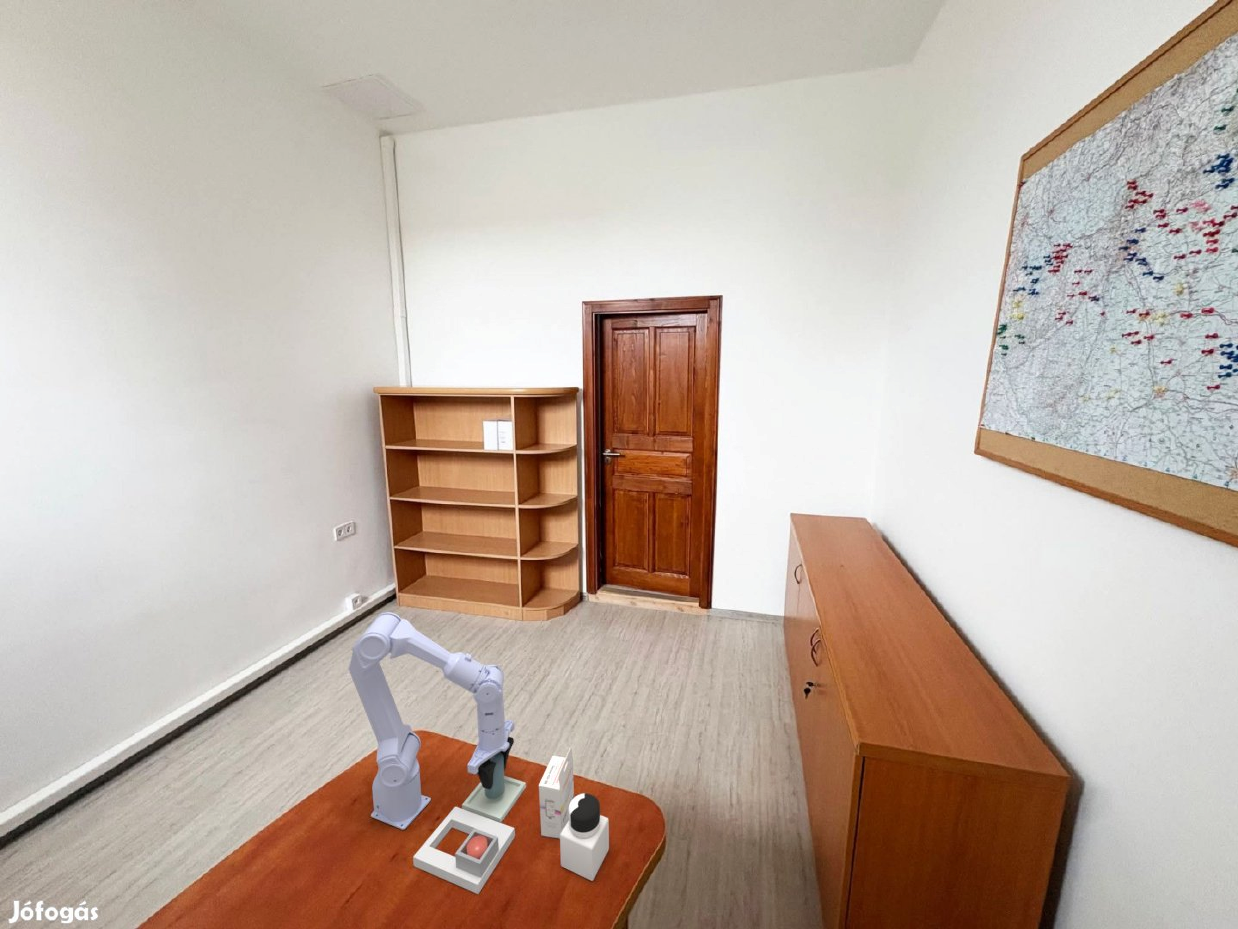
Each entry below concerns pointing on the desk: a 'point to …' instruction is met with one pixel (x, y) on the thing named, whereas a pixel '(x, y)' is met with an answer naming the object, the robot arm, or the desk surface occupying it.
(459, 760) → the desk surface
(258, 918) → the desk surface
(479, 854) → the release plunger
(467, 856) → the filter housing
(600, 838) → the medicine bottle
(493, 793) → the cylinder
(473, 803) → the tray
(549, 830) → the ink cartridge box
